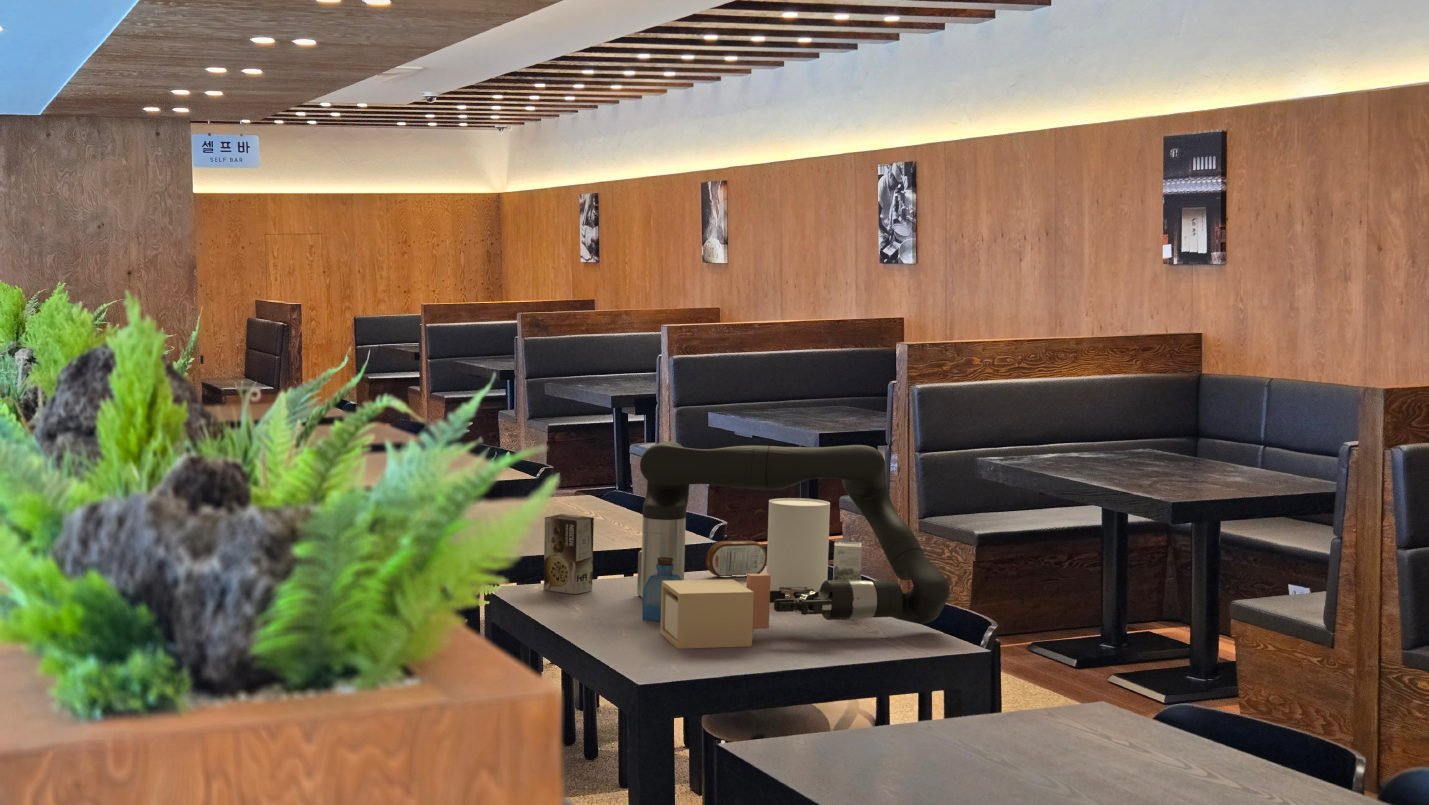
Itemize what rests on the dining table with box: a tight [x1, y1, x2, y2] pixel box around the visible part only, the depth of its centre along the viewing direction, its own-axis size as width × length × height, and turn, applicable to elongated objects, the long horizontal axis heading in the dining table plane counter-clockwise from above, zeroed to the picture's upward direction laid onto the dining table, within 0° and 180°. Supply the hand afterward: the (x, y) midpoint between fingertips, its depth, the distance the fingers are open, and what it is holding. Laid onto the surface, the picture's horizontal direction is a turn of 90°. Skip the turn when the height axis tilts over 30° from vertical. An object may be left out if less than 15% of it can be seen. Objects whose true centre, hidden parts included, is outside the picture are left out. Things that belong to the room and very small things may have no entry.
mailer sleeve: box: [659, 578, 754, 650], centre depth 265 cm, size 14×13×10 cm
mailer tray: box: [665, 573, 771, 639], centre depth 265 cm, size 18×11×11 cm, turn 106°
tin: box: [705, 540, 767, 577], centre depth 334 cm, size 15×3×8 cm, turn 114°
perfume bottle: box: [641, 557, 681, 623], centre depth 283 cm, size 6×6×12 cm
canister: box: [766, 497, 831, 596], centre depth 317 cm, size 14×14×20 cm
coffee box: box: [543, 513, 595, 595], centre depth 310 cm, size 9×6×16 cm
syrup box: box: [832, 541, 863, 580], centre depth 295 cm, size 6×6×14 cm
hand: (767, 601), depth 268 cm, fingers open, 8 cm apart
